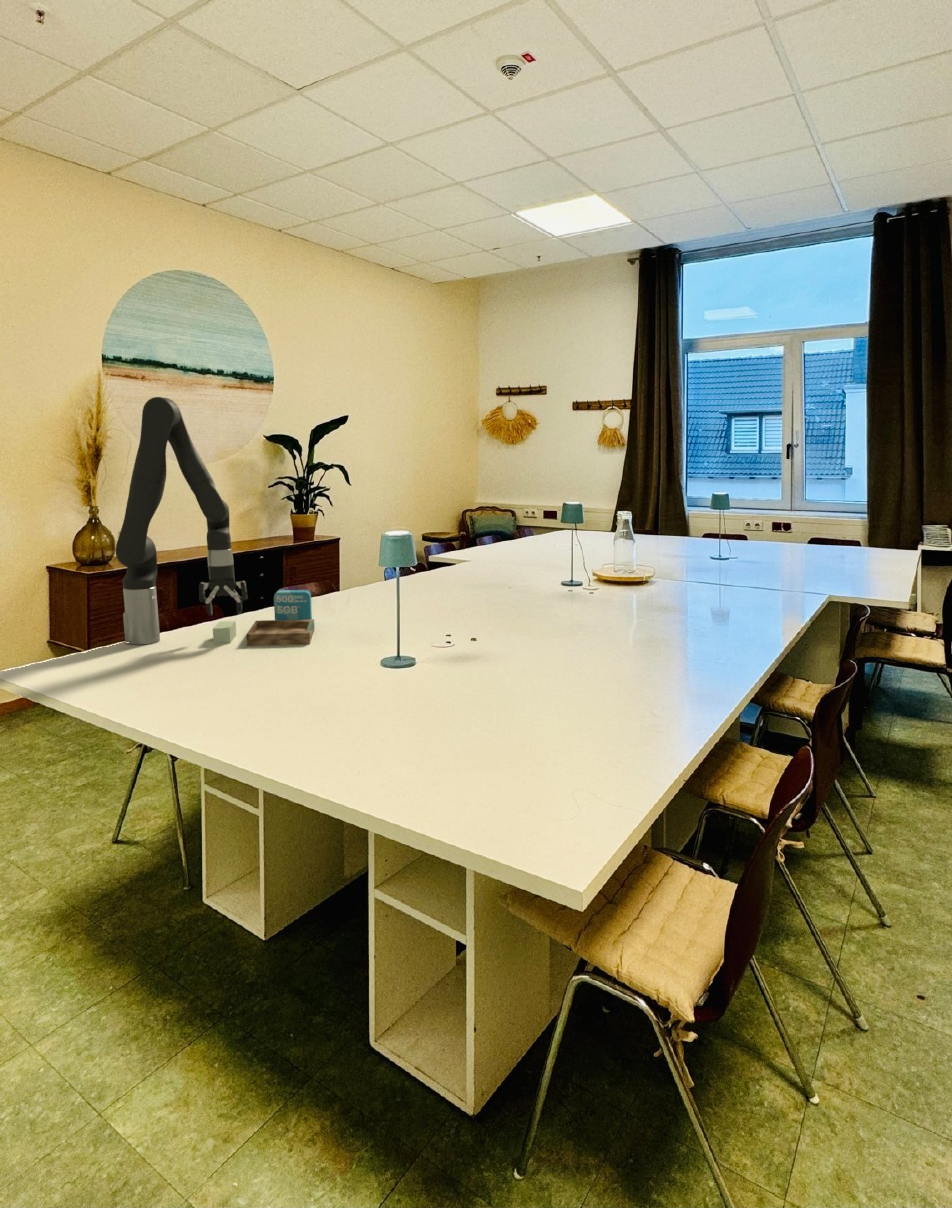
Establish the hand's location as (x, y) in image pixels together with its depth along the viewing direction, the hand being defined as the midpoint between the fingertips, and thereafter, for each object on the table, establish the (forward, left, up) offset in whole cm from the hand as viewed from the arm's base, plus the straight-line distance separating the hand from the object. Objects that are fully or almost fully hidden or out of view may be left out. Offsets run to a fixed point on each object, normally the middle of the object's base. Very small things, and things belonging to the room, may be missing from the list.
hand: (225, 614), depth 229 cm
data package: (+19, +18, -8) cm, 28 cm away
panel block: (0, 0, -8) cm, 8 cm away
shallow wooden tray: (+17, +1, -8) cm, 19 cm away
